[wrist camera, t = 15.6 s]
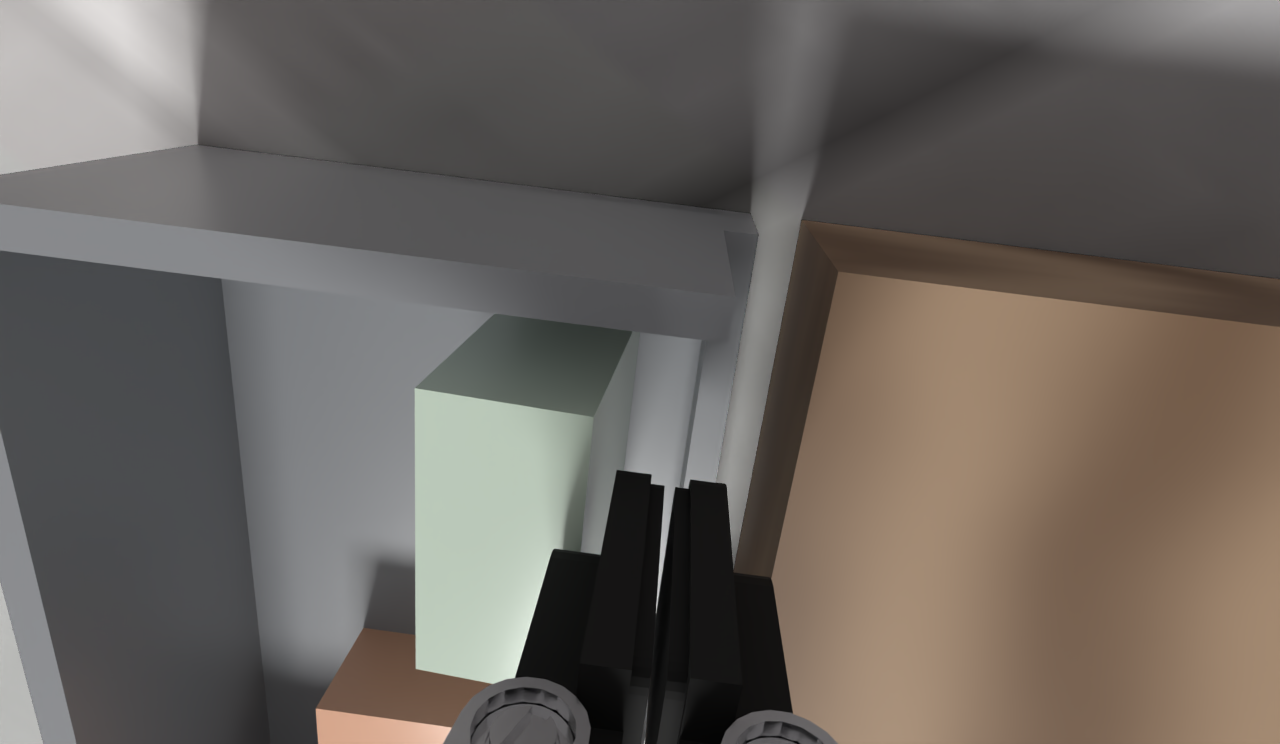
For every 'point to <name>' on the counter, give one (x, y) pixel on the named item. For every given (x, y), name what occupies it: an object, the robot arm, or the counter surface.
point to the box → (287, 408)
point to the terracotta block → (390, 695)
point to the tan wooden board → (1021, 495)
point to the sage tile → (511, 480)
